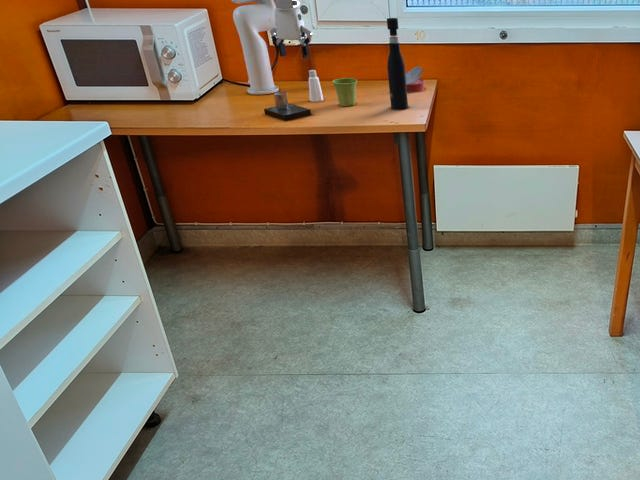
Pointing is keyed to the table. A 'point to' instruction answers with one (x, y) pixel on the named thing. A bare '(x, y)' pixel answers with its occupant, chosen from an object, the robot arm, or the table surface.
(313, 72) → the pepper shaker
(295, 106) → the black knob panel
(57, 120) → the table surface
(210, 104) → the table surface
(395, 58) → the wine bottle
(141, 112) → the table surface
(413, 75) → the tissue box
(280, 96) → the hob knob
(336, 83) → the plant pot
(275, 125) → the table surface
